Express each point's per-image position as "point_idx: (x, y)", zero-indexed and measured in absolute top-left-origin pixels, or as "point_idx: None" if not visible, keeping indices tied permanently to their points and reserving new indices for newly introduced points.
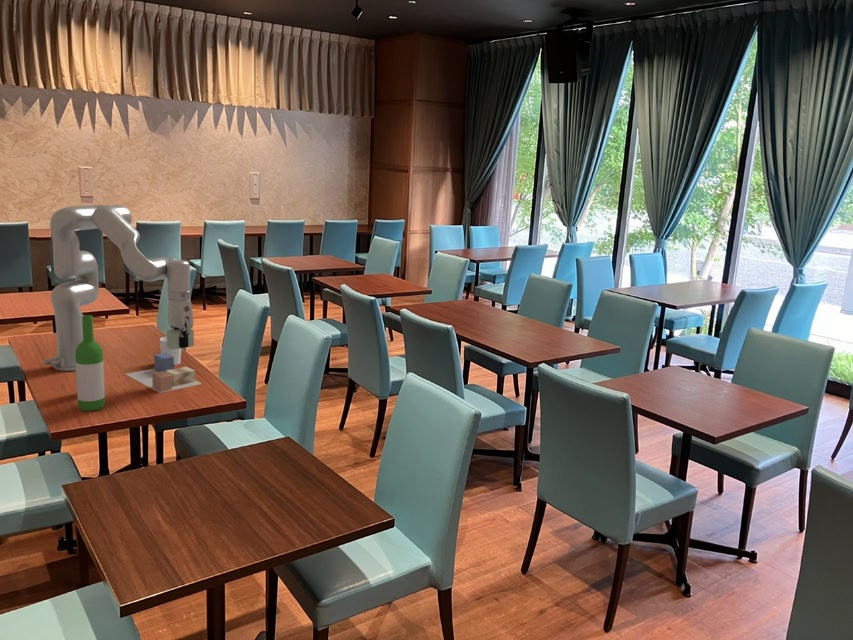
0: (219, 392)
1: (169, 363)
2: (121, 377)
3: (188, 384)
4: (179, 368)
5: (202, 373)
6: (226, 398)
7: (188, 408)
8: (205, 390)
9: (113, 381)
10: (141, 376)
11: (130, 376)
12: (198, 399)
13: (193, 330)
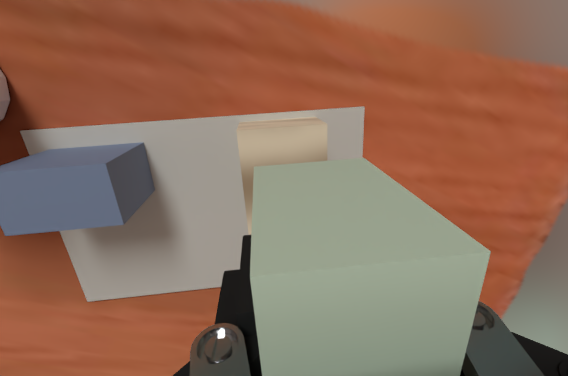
0: (493, 95)
1: (128, 178)
2: (121, 316)
3: (337, 159)
4: (250, 175)
5: (212, 21)
6: (562, 107)
7: (528, 248)
8: (435, 131)
9: (158, 342)
10: (146, 266)
11: (128, 294)
12: (491, 194)
13: (482, 245)
